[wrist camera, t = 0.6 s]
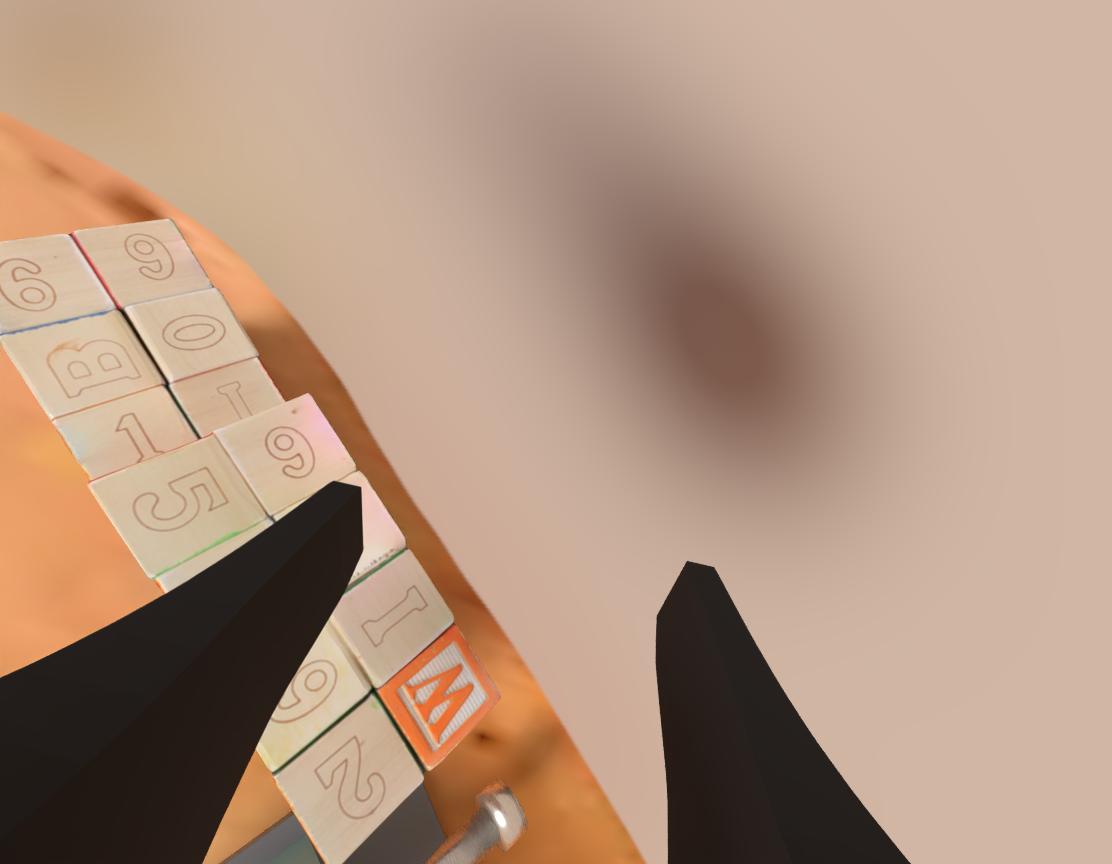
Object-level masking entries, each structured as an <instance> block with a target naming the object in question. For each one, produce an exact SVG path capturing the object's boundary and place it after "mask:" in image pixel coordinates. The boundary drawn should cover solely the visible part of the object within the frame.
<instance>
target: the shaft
mask: <svg viewBox="0 0 1112 864" xmlns="http://www.w3.org/2000/svg"><path fill="white" fill-rule="evenodd" d="M475 805H476V808H477V811H476V812H475V813H474V814H473V815H472V816H471V817H470V818H469V819H468V820H467V821H466V822H465V823H464V824H462V825H461V826H460V827H459V828H458V829H457V830H456V831H455V832H454V833H453V834H452V835H451V836H450V837H448V838H447V839H446V840H445V841H444V842H443V843H442V844H441V845H440V846H439V847H438V848H437V849H436V850H435V851H433V852H432V853H431V854H430V855H429V856H428V857H427V858H426V859H425V860H424V861H423V862H422V863H421V864H478V863H479V862H480V861H481V860H482V859H483V858H484V857H485V856H486V855H487V854H488V853H489V852H490V851H491V850H492V849H493V848H494V847H495V846H496V845H497V846H498V847H499V848H500V849H501V850H502V851H504V852H507V851H508V850H509V849H510V848H511V847H512V845H513V844H514V843H515V842H516V841H517V840H518V839H519V838H520V837H521V836H522V835H523V834H524V833H525V832H526V831H527V829H528V825H527V820H526V817H525V815H524V812H523V810H522V808H521V806H520V804H519V802H518V800H517V799H516V797H515V796H514V794H513V793H512V791H511V790H510V789H509V787H508V786H507V785H506V784H505V783H504V782H503V781H502V780H500V779H498V778H496V779H495V780H494V781H493V782H491V783H490V784H489V785H488V786H487V787H486V788H485V789H484V790H483V791H482V792H480V793H479V794H478V795H477V796H476V797H475Z"/></svg>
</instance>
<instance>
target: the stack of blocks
mask: <svg viewBox="0 0 1112 864" xmlns="http://www.w3.org/2000/svg"><path fill="white" fill-rule="evenodd" d="M0 343H1V345H2V346H3V348H4V350H5V351H6V353H7V354H8V356H9V357H10V359H11V360H12V362H13V363H14V365H15V366H16V368H17V369H18V371H19V372H20V374H21V375H22V377H23V379H24V380H25V382H26V383H27V385H28V386H29V388H30V390H31V391H32V393H33V394H34V396H35V397H36V399H37V400H38V402H39V404H40V405H41V407H42V408H43V410H44V411H45V413H46V414H47V416H48V417H49V419H50V420H51V422H52V423H53V425H54V427H55V429H56V431H57V432H58V434H59V435H60V436H61V438H62V440H63V441H64V443H65V444H66V446H67V447H68V449H69V450H70V452H71V453H72V455H73V456H74V458H75V459H76V461H77V462H78V464H79V465H80V466H81V468H82V469H83V471H84V472H85V474H86V475H87V477H88V478H89V480H90V482H89V483H88V484H87V486H88V488H89V490H90V491H91V493H92V494H93V496H94V497H95V499H96V500H97V502H98V503H99V505H100V506H101V508H102V509H103V511H104V512H105V514H106V515H107V517H108V518H109V520H110V521H111V523H112V524H113V526H114V527H115V529H116V530H117V531H118V533H119V534H120V536H121V537H122V539H123V540H124V542H125V543H126V545H127V546H128V548H129V549H130V551H131V552H132V554H133V555H134V557H135V558H136V560H137V561H138V563H139V564H140V566H141V567H142V569H143V570H144V572H145V573H146V575H147V576H148V578H150V579H151V580H153V581H154V582H156V584H157V585H158V587H159V588H160V589H161V590H162V592H163V593H164V594H166V593H167V592H169V591H171V590H172V589H174V588H176V587H177V586H179V585H181V584H182V583H184V582H186V581H187V580H189V579H191V578H192V577H194V576H195V575H197V574H198V573H200V572H202V571H203V570H205V569H206V568H208V567H209V566H211V565H213V564H214V563H216V562H217V561H219V560H220V559H222V558H224V557H225V556H227V555H228V554H230V553H231V552H233V551H234V550H236V549H237V548H239V547H240V546H242V545H243V544H245V543H246V542H248V541H249V540H250V539H252V538H253V537H255V536H256V535H258V534H259V533H261V532H262V531H263V530H265V529H266V528H268V527H269V526H271V525H272V524H274V523H275V522H276V521H278V520H279V519H280V518H282V517H283V516H285V515H286V514H287V513H289V512H290V511H292V510H293V509H294V508H296V507H297V506H298V505H300V504H301V503H302V502H304V501H305V500H307V499H308V498H309V497H311V496H312V495H313V494H315V493H316V492H317V491H319V490H320V489H321V488H323V487H324V486H326V485H327V484H328V483H330V482H332V481H338V482H342V483H347V484H351V485H355V486H360V487H361V488H362V518H363V548H364V550H363V553H362V555H361V557H360V559H359V562H358V564H357V566H356V569H355V571H354V573H353V575H352V577H351V580H350V582H349V584H348V586H347V588H346V590H345V592H344V594H343V596H342V598H341V600H340V601H339V603H338V605H337V606H336V608H335V610H334V611H333V613H332V615H331V616H330V618H329V620H328V621H327V623H326V625H325V626H324V628H323V630H322V631H321V633H320V635H319V636H318V638H317V640H316V641H315V643H314V645H313V646H312V648H311V650H310V651H309V653H308V655H307V656H306V658H305V660H304V661H303V663H302V665H301V666H300V668H299V670H298V671H297V673H296V674H295V676H294V678H293V679H292V681H291V683H290V684H289V686H288V688H287V689H286V691H285V693H284V695H283V696H282V698H281V700H280V702H279V704H278V705H277V707H276V709H275V711H274V713H273V714H272V716H271V718H270V720H269V722H268V724H267V727H266V729H265V731H264V733H263V735H262V737H261V739H260V741H259V743H258V745H257V747H256V750H257V752H258V754H259V755H260V757H261V758H262V760H263V762H264V763H265V765H266V766H267V768H268V769H270V770H271V772H272V776H273V779H274V781H275V783H276V785H277V787H278V788H279V790H280V792H281V793H282V795H283V796H284V798H285V800H286V801H287V803H288V804H289V806H290V808H291V809H292V811H293V812H294V814H295V816H296V817H297V819H298V821H299V822H300V824H301V825H302V827H303V829H304V830H305V832H306V834H307V835H308V837H309V839H310V840H311V842H312V843H313V845H314V847H315V848H316V850H317V851H318V853H319V855H320V856H321V858H322V859H323V861H324V862H325V864H342V863H343V862H344V861H345V860H346V859H347V858H348V857H349V856H350V855H351V854H352V853H353V852H354V851H355V850H356V849H357V848H358V847H359V846H360V845H361V844H362V843H363V842H364V841H365V840H366V839H367V838H368V837H369V836H370V834H371V833H372V832H373V831H374V830H375V829H376V828H377V827H378V826H379V825H380V824H381V823H382V822H383V821H384V820H385V819H386V818H387V817H388V816H389V815H390V814H391V813H392V812H393V811H394V810H395V809H396V808H397V807H398V806H399V805H400V804H401V803H402V802H403V801H404V800H405V799H406V798H407V797H408V796H409V795H410V794H411V793H412V792H413V791H414V790H415V789H416V788H417V787H418V786H419V785H420V784H421V783H422V782H423V780H424V772H425V771H431V770H432V769H433V768H434V767H436V766H437V765H438V764H439V763H440V762H441V761H442V760H443V759H444V758H445V757H446V756H447V755H448V754H449V753H450V752H451V751H452V750H453V749H454V748H455V747H456V746H457V745H458V744H459V743H460V742H461V741H462V739H463V738H464V737H465V736H466V735H467V734H468V733H469V732H470V731H471V730H472V729H473V728H474V727H475V726H476V725H477V724H478V723H479V722H480V721H481V720H482V718H483V717H484V716H485V715H486V714H487V713H488V712H489V711H490V710H491V709H492V708H493V707H494V706H495V705H496V703H497V702H498V701H499V699H500V698H501V695H500V693H499V691H498V690H497V688H496V686H495V685H494V683H493V681H492V680H491V678H490V677H489V675H488V674H487V672H486V670H485V669H484V667H483V666H482V664H481V663H480V661H479V659H478V658H477V656H476V655H475V653H474V651H473V650H472V648H471V647H470V645H469V643H468V642H467V640H466V639H465V637H464V635H463V634H462V632H461V631H460V629H459V628H458V626H456V625H455V624H454V615H453V613H452V612H451V610H450V609H449V607H448V606H447V604H446V603H445V601H444V599H443V598H442V596H441V595H440V593H439V592H438V590H437V589H436V587H435V586H434V584H433V583H432V581H431V580H430V578H429V576H428V575H427V573H426V572H425V570H424V569H423V567H422V566H421V564H420V563H419V561H418V560H417V558H416V557H415V555H414V554H413V552H412V551H411V550H409V549H408V548H406V538H405V536H404V535H403V533H402V532H401V530H400V528H399V527H398V525H397V524H396V522H395V521H394V519H393V518H392V516H391V515H390V513H389V512H388V510H387V509H386V507H385V505H384V504H383V502H382V501H381V499H380V498H379V496H378V495H377V493H376V492H375V490H374V489H373V487H372V486H371V484H370V483H369V481H368V479H367V478H366V477H365V475H364V474H363V473H362V472H360V471H359V470H358V469H357V467H356V464H355V462H354V460H353V458H352V457H351V455H350V454H349V452H348V451H347V449H346V448H345V446H344V445H343V443H342V442H341V440H340V438H339V437H338V435H337V434H336V432H335V431H334V429H333V428H332V426H331V425H330V423H329V421H328V420H327V418H326V417H325V415H324V414H323V412H322V411H321V409H320V408H319V406H318V405H317V403H316V402H315V400H314V399H313V397H312V396H311V395H310V394H309V393H307V394H304V395H302V396H299V397H297V398H295V399H292V400H290V401H287V402H286V401H285V399H284V397H283V396H282V394H281V393H280V391H279V389H278V388H277V386H276V385H275V383H274V381H273V380H272V378H271V376H270V375H269V373H268V372H267V370H266V368H265V367H264V365H263V364H262V362H261V361H260V359H259V353H258V351H257V349H256V348H255V346H254V344H253V343H252V341H251V339H250V338H249V336H248V334H247V333H246V331H245V329H244V328H243V326H242V325H241V323H240V321H239V320H238V318H237V317H236V315H235V313H234V312H233V310H232V309H231V307H230V305H229V304H228V302H227V301H226V299H225V298H224V296H223V294H222V293H221V291H220V290H219V289H218V288H216V287H214V286H213V285H212V283H211V282H210V280H209V278H208V276H207V274H206V273H205V271H204V270H203V268H202V266H201V265H200V263H199V262H198V260H197V258H196V257H195V255H194V254H193V252H192V250H191V249H190V247H189V245H188V244H187V242H186V241H185V239H184V237H183V236H182V234H181V233H180V231H179V229H178V228H177V226H176V225H175V223H174V221H173V220H171V219H163V220H155V221H147V222H139V223H132V224H124V225H116V226H107V227H98V228H90V229H82V230H75V231H74V232H72V233H71V234H57V235H49V236H41V237H33V238H25V239H17V240H9V241H3V242H0Z"/></svg>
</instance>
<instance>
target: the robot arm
mask: <svg viewBox="0 0 1112 864" xmlns="http://www.w3.org/2000/svg"><path fill="white" fill-rule="evenodd" d="M363 550H364V548H363V518H362V488H361V487H360V486H355V485H351V484H347V483H342V482H338V481H332V482H330V483H328V484H327V485H326V486H324V487H323V488H321V489H320V490H319V491H317V492H316V493H315V494H313V495H312V496H311V497H309V498H308V499H307V500H305V501H304V502H302V503H301V504H300V505H298V506H297V507H296V508H294V509H293V510H292V511H290V512H289V513H287V514H286V515H285V516H283V517H282V518H280V519H279V520H278V521H276V522H275V523H274V524H272V525H271V526H269V527H268V528H266V529H265V530H263V531H262V532H261V533H259V534H258V535H256V536H255V537H253V538H252V539H250V540H249V541H248V542H246V543H245V544H243V545H242V546H240V547H239V548H237V549H236V550H234V551H233V552H231V553H230V554H228V555H227V556H225V557H224V558H222V559H220V560H219V561H217V562H216V563H214V564H213V565H211V566H209V567H208V568H206V569H205V570H203V571H202V572H200V573H198V574H197V575H195V576H194V577H192V578H191V579H189V580H187V581H186V582H184V583H182V584H181V585H179V586H177V587H176V588H174V589H172V590H171V591H169V592H167V593H166V594H164V595H162V596H160V597H159V598H157V599H155V600H154V601H152V602H150V603H148V604H146V605H145V606H143V607H141V608H139V609H137V610H136V611H134V612H132V613H130V614H128V615H127V616H125V617H123V618H121V619H119V620H117V621H116V622H114V623H112V624H110V625H108V626H106V627H104V628H102V629H100V630H98V631H96V632H94V633H92V634H90V635H88V636H86V637H84V638H82V639H81V640H79V641H77V642H75V643H73V644H71V645H69V646H67V647H65V648H63V649H61V650H59V651H57V652H55V653H53V654H51V655H49V656H46V657H44V658H42V659H40V660H38V661H36V662H34V663H32V664H30V665H28V666H25V667H23V668H21V669H19V670H16V671H14V672H12V673H10V674H8V675H5V676H3V677H1V678H0V864H202V863H203V861H204V859H205V856H206V854H207V852H208V850H209V847H210V845H211V843H212V841H213V838H214V836H215V834H216V832H217V829H218V827H219V825H220V823H221V821H222V818H223V816H224V814H225V812H226V810H227V808H228V806H229V804H230V801H231V799H232V797H233V795H234V793H235V791H236V789H237V787H238V784H239V782H240V780H241V778H242V776H243V774H244V772H245V769H246V767H247V765H248V763H249V761H250V759H251V757H252V755H253V753H254V751H255V749H256V747H257V745H258V743H259V741H260V739H261V737H262V735H263V733H264V731H265V729H266V727H267V724H268V722H269V720H270V718H271V716H272V714H273V713H274V711H275V709H276V707H277V705H278V704H279V702H280V700H281V698H282V696H283V695H284V693H285V691H286V689H287V688H288V686H289V684H290V683H291V681H292V679H293V678H294V676H295V674H296V673H297V671H298V670H299V668H300V666H301V665H302V663H303V661H304V660H305V658H306V656H307V655H308V653H309V651H310V650H311V648H312V646H313V645H314V643H315V641H316V640H317V638H318V636H319V635H320V633H321V631H322V630H323V628H324V626H325V625H326V623H327V621H328V620H329V618H330V616H331V615H332V613H333V611H334V610H335V608H336V606H337V605H338V603H339V601H340V600H341V598H342V596H343V594H344V592H345V590H346V588H347V586H348V584H349V582H350V580H351V577H352V575H353V573H354V571H355V569H356V566H357V564H358V562H359V559H360V557H361V555H362V553H363ZM656 625H657V626H656V673H657V684H658V695H659V706H660V715H661V726H662V737H663V747H664V758H665V768H666V782H667V799H668V864H911V863H910V862H909V861H908V860H907V859H906V858H905V856H904V855H903V854H902V853H901V851H900V850H899V849H898V848H897V846H896V845H895V844H894V843H893V842H892V840H891V839H890V838H889V836H888V835H887V834H886V833H885V831H884V830H883V829H882V828H881V827H880V825H879V824H878V823H877V822H876V820H875V819H874V818H873V817H872V815H871V814H870V813H869V812H868V810H867V809H866V808H865V807H864V805H863V804H862V803H861V801H860V800H859V799H858V797H857V796H856V795H855V794H854V792H853V791H852V790H851V788H850V787H849V786H848V784H847V783H846V782H845V780H844V779H843V777H842V776H841V775H840V773H839V772H838V771H837V769H836V768H835V767H834V765H833V764H832V762H831V761H830V759H829V758H828V757H827V755H826V754H825V752H824V751H823V750H822V748H821V747H820V746H819V744H818V743H817V741H816V740H815V738H814V737H813V736H812V734H811V732H810V731H809V729H808V728H807V726H806V725H805V723H804V722H803V720H802V719H801V717H800V716H799V714H798V713H797V711H796V709H795V708H794V706H793V705H792V703H791V702H790V700H789V699H788V697H787V695H786V694H785V692H784V690H783V689H782V688H781V686H780V684H779V682H778V681H777V679H776V677H775V676H774V674H773V672H772V671H771V669H770V667H769V666H768V664H767V662H766V660H765V659H764V657H763V655H762V653H761V652H760V650H759V648H758V647H757V645H756V643H755V641H754V640H753V638H752V636H751V634H750V632H749V631H748V629H747V627H746V625H745V623H744V621H743V620H742V618H741V616H740V614H739V612H738V610H737V608H736V607H735V605H734V603H733V601H732V599H731V597H730V595H729V594H728V592H727V590H726V588H725V586H724V584H723V582H722V581H721V579H720V577H719V575H718V573H717V571H716V570H715V568H714V567H711V566H707V565H702V564H698V563H693V562H689V561H687V562H686V564H685V566H684V567H683V569H682V571H681V573H680V575H679V576H678V578H677V580H676V582H675V584H674V586H673V587H672V589H671V591H670V593H669V595H668V596H667V598H666V600H665V602H664V604H663V606H662V607H661V609H660V611H659V613H658V615H657V624H656Z"/></svg>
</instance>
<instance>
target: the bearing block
mask: <svg viewBox="0 0 1112 864" xmlns="http://www.w3.org/2000/svg"><path fill="white" fill-rule="evenodd" d="M445 840H446V837H445V835H444V833H443V830H442V828H441V826H440V823H439V821H438V818H437V816H436V814H435V811H434V809H433V806H432V804H431V802H430V799H429V797H428V795H427V792H426V790H425V787H424V785H423V783H421V784H420V785H419V786H418V787H417V788H416V789H415V790H414V791H413V792H412V793H411V794H410V795H409V796H408V797H407V798H406V799H405V800H404V801H403V802H402V803H401V804H400V805H399V806H398V807H397V808H396V809H395V810H394V811H393V812H392V813H391V814H390V815H389V816H388V817H387V818H386V819H385V820H384V821H383V822H382V823H381V824H380V825H379V826H378V827H377V828H376V829H375V830H374V831H373V832H372V833H371V834H370V836H369V837H368V838H367V839H366V840H365V841H364V842H363V843H362V844H361V845H360V846H359V847H358V848H357V849H356V850H355V851H354V852H353V853H352V854H351V855H350V856H349V857H348V858H347V859H346V860H345V861H344V862H343V863H342V864H421V863H422V862H423V861H424V860H425V859H426V858H427V857H428V856H429V855H430V854H431V853H432V852H433V851H435V850H436V849H437V848H438V847H439V846H440V845H441V844H442V843H443V842H444V841H445ZM220 864H325V862H324V861H323V859H322V858H321V856H320V855H319V853H318V851H317V850H316V848H315V847H314V845H313V843H312V842H311V840H310V839H309V837H308V835H307V834H306V832H305V830H304V829H303V827H302V825H301V824H300V822H299V821H298V819H297V817H296V816H295V814H294V812H293V811H292V812H291V813H289V814H288V815H287V816H285V817H284V818H282V819H281V820H280V821H278V822H277V823H275V824H274V825H273V826H271V827H270V828H269V829H267V830H266V831H264V832H263V833H262V834H260V835H259V836H258V837H256V838H255V839H253V840H252V841H251V842H249V843H248V844H247V845H245V846H244V847H242V848H241V849H240V850H238V851H237V852H236V853H234V854H233V855H231V856H230V857H229V858H227V859H226V860H224V861H223V862H222V863H220Z"/></svg>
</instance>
